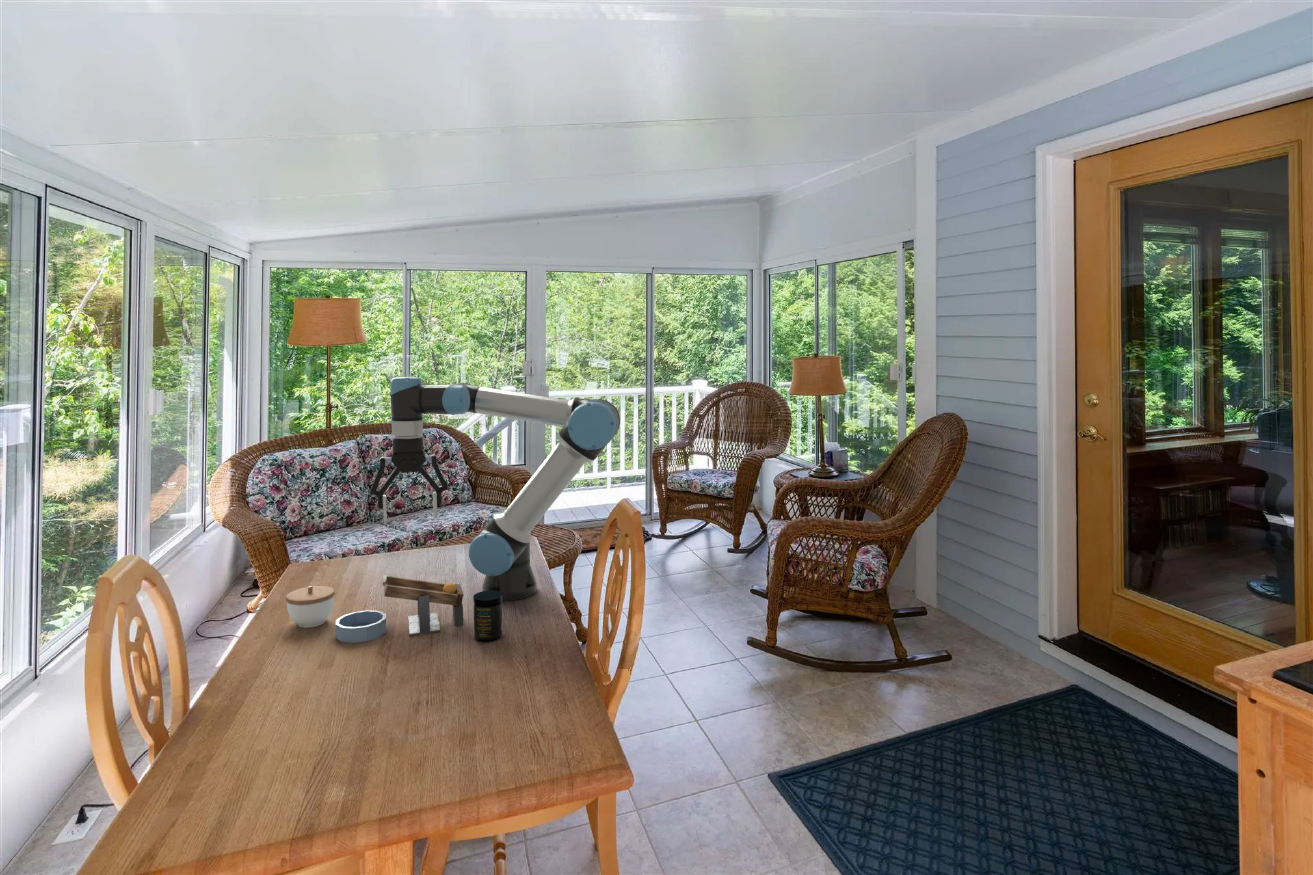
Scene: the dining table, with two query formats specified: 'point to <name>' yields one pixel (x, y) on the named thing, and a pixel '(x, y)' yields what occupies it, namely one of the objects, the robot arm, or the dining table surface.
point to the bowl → (360, 626)
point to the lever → (420, 590)
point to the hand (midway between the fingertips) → (410, 518)
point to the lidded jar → (310, 605)
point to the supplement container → (488, 616)
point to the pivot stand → (423, 619)
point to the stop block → (458, 614)
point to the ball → (449, 588)
